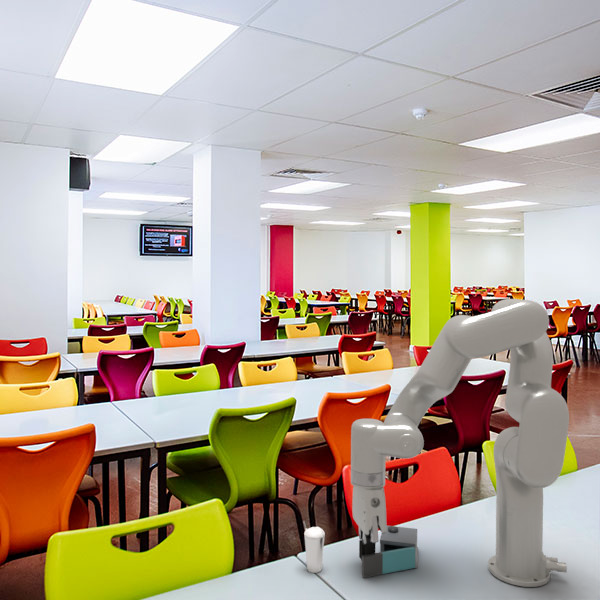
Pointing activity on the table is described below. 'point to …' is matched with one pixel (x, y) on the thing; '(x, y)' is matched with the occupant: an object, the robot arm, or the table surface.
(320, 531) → the milkshake
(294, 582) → the table surface
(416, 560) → the door
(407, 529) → the camera case
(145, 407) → the table surface
